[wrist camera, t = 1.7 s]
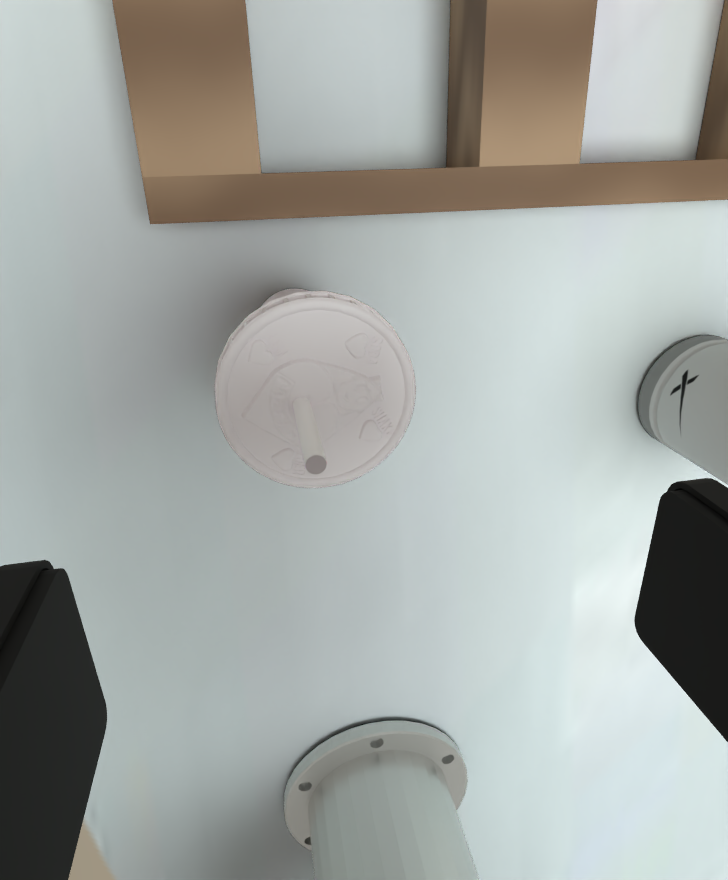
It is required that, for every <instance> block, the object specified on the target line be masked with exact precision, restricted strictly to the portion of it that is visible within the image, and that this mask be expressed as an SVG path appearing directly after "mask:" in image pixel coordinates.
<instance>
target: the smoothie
mask: <svg viewBox="0 0 728 880" xmlns="http://www.w3.org/2000/svg"><path fill="white" fill-rule="evenodd" d="M214 388H215V404H216V411H217V416H218V420H219V423H220V426H221V429H222V431H223V433H224V436H225V438H226V439H227V441H228V443H229V445H230V446H231V447H232V449H233V450H234V451H235V453H236V454H237V455H238V456H239V457H240V458H241V459H242V460H243V461H244V462H245V463H246V464H247V465H248V466H250V467H251V468H252V469H254V470H255V471H256V472H258V473H260V474H261V475H263V476H265V477H267V478H269V479H271V480H274V481H276V482H279V483H282V484H286V485H289V486H295V487H302V488H322V487H330V486H335V485H339V484H343V483H346V482H349V481H352V480H354V479H356V478H358V477H360V476H362V475H364V474H366V473H368V472H369V471H371V470H372V469H374V468H375V467H377V466H378V465H379V464H380V463H381V462H383V461H384V460H385V459H386V458H387V457H388V456H389V455H390V454H391V452H392V451H393V450H394V449H395V448H396V446H397V445H398V444H399V442H400V441H401V439H402V437H403V436H404V434H405V432H406V430H407V428H408V425H409V423H410V420H411V417H412V414H413V409H414V404H415V394H416V385H415V376H414V370H413V366H412V363H411V360H410V357H409V355H408V352H407V351H406V349H405V347H404V345H403V343H402V342H401V340H400V338H399V337H398V335H397V333H396V332H395V330H394V328H393V327H392V326H391V325H390V324H389V323H388V322H387V321H386V320H385V319H384V318H383V317H382V316H381V315H380V314H379V313H378V312H377V311H376V310H375V309H373V308H371V307H369V306H368V305H366V304H364V303H362V302H360V301H358V300H356V299H355V298H353V297H351V296H346V295H342V294H337V293H333V292H328V291H308V290H304V289H297V288H292V289H286V290H282V291H279V292H277V293H275V294H273V295H272V296H271V297H269V298H268V299H267V300H266V301H265V302H264V303H263V305H262V306H261V307H260V308H258V309H257V310H255V311H254V312H252V313H251V314H249V315H248V316H247V317H246V318H245V319H244V320H243V321H242V323H241V324H240V325H239V326H238V327H237V328H236V329H235V331H234V332H233V333H232V334H231V335H230V336H229V339H228V341H227V343H226V345H225V347H224V349H223V351H222V353H221V356H220V358H219V360H218V365H217V371H216V378H215V384H214Z"/></svg>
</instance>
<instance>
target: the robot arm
mask: <svg viewBox="0 0 728 880" xmlns="http://www.w3.org/2000/svg"><path fill="white" fill-rule="evenodd" d="M635 627H636V631H637V633H638V635H639V637H640V639H641V640H642V642H643V643H644V644H645V645H646V646H647V648H648V649H649V650H650V651H651V652H652V653H653V655H654V656H655V657H656V658H657V659H658V661H659V662H660V663H661V664H662V665H663V666H664V668H665V669H666V670H667V671H668V672H669V673H670V675H671V676H672V677H673V678H674V679H675V681H676V682H677V683H678V684H679V685H680V686H681V688H682V689H683V690H684V691H685V692H686V694H687V695H688V696H689V697H690V698H691V699H692V701H693V702H694V703H695V704H696V705H697V707H698V708H699V709H700V710H701V711H702V712H703V714H704V715H705V716H706V717H707V718H708V719H709V721H710V722H711V723H712V724H713V725H714V727H715V728H716V729H717V730H718V731H719V732H720V734H721V735H722V736H723V737H724V738H725V740H726V741H727V742H728V488H727V487H725V486H724V485H722V484H721V483H719V482H718V481H716V480H713V479H711V478H704V479H696V480H688V481H680V482H676V483H673V484H672V485H671V486H670V487H669V488H668V491H667V492H666V493H664V494H663V495H662V496H661V499H660V502H659V506H658V511H657V516H656V520H655V525H654V530H653V534H652V539H651V544H650V548H649V553H648V558H647V562H646V567H645V572H644V576H643V581H642V586H641V590H640V595H639V600H638V604H637V609H636V614H635ZM106 723H107V709H106V703H105V699H104V696H103V692H102V689H101V686H100V682H99V679H98V676H97V672H96V669H95V665H94V662H93V659H92V655H91V652H90V649H89V645H88V642H87V638H86V635H85V632H84V628H83V625H82V622H81V618H80V615H79V611H78V608H77V605H76V601H75V598H74V595H73V591H72V588H71V584H70V581H69V578H68V575H67V573H66V571H65V570H64V569H62V568H60V569H53V566H52V565H51V563H50V562H49V561H46V560H42V561H33V562H25V563H17V564H9V565H3V566H1V567H0V880H68V878H69V873H70V870H71V866H72V862H73V858H74V853H75V850H76V846H77V842H78V838H79V834H80V830H81V826H82V822H83V818H84V814H85V810H86V806H87V802H88V798H89V794H90V790H91V786H92V782H93V778H94V774H95V770H96V766H97V762H98V758H99V754H100V750H101V747H102V743H103V739H104V735H105V730H106ZM467 782H468V779H467V769H466V766H465V763H464V760H463V758H462V755H461V753H460V751H459V749H458V747H457V745H456V744H455V743H454V742H453V741H452V740H451V739H450V738H449V737H448V736H447V735H446V734H444V733H442V732H441V731H439V730H437V729H436V728H433V727H430V726H428V725H425V724H422V723H416V722H410V721H381V722H374V723H368V724H364V725H361V726H357V727H354V728H351V729H348V730H346V731H344V732H341V733H339V734H337V735H335V736H333V737H331V738H330V739H328V740H326V741H325V742H323V743H321V744H320V745H318V746H317V747H316V748H315V749H314V750H312V751H311V752H310V753H309V754H308V755H306V756H305V757H304V758H303V760H302V761H301V762H300V763H299V764H298V765H297V767H296V768H295V769H294V771H293V773H292V775H291V776H290V778H289V780H288V782H287V786H286V789H285V792H284V813H285V821H286V825H287V827H288V829H289V831H290V833H291V835H292V836H293V837H294V838H295V839H296V841H297V842H298V843H299V844H301V845H302V846H304V847H305V848H307V849H308V850H310V851H312V858H313V869H314V879H315V880H479V877H478V874H477V871H476V868H475V865H474V862H473V859H472V856H471V853H470V850H469V847H468V844H467V841H466V838H465V835H464V832H463V829H462V826H461V823H460V820H459V817H458V814H457V811H456V810H457V809H458V807H459V806H460V804H461V802H462V799H463V797H464V795H465V792H466V787H467Z"/></svg>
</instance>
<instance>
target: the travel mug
mask: <svg viewBox="0 0 728 880" xmlns="http://www.w3.org/2000/svg"><path fill="white" fill-rule="evenodd" d="M638 411H639V416H640V420H641V423H642V425H643V427H644V429H645V430H646V431H647V432H648V433H649V435H650V436H652V437H653V438H655V439H656V440H658V441H659V442H661V443H662V444H664V445H666V446H667V447H669V448H670V449H672V450H674V451H675V452H677V453H678V454H680V455H682V456H683V457H685V458H686V459H688V460H689V461H691V462H693V463H694V464H696V465H697V466H699V467H701V468H702V469H704V470H705V471H707V472H708V473H710V474H712V475H713V476H715V477H716V478H718V479H720V480H721V481H723V482H724V483H726V484H727V485H728V339H725V338H721V337H718V336H712V335H703V336H696V337H693V338H689V339H686V340H684V341H682V342H680V343H678V344H676V345H675V346H673V347H672V348H670V349H669V350H667V351H666V352H665V353H664V354H663V355H662V356H661V357H660V358H659V359H658V360H657V361H656V362H655V363H654V365H653V366H652V367H651V369H650V370H649V372H648V374H647V375H646V377H645V379H644V381H643V384H642V387H641V390H640V395H639V400H638Z"/></svg>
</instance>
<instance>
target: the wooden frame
mask: <svg viewBox="0 0 728 880" xmlns="http://www.w3.org/2000/svg"><path fill="white" fill-rule="evenodd" d="M112 1H113V7H114V13H115V19H116V25H117V31H118V37H119V43H120V49H121V55H122V61H123V66H124V72H125V78H126V84H127V90H128V96H129V102H130V108H131V114H132V120H133V126H134V132H135V137H136V143H137V149H138V155H139V161H140V167H141V173H142V179H143V185H144V191H145V197H146V202H147V208H148V214H149V220H150V224H166V223H190V222H213V221H236V220H260V219H283V218H307V217H330V216H353V215H377V214H400V213H424V212H447V211H470V210H494V209H517V208H541V207H564V206H588V205H611V204H634V203H658V202H681V201H705V200H728V0H725V2H724V7H723V13H722V18H721V24H720V29H719V35H718V40H717V45H716V51H715V56H714V62H713V67H712V73H711V78H710V84H709V89H708V95H707V100H706V106H705V111H704V117H703V122H702V127H701V133H700V138H699V144H698V149H697V155H696V160H683V161H650V162H618V163H585V164H579V163H580V154H581V145H582V136H583V127H584V118H585V108H586V99H587V90H588V81H589V72H590V63H591V54H592V45H593V35H594V26H595V17H596V8H597V0H451V1H450V41H449V80H448V120H447V159H446V168H424V169H391V170H359V171H326V172H294V173H262V174H261V165H260V154H259V143H258V133H257V122H256V111H255V100H254V89H253V79H252V68H251V57H250V46H249V36H248V25H247V14H246V3H245V0H112Z"/></svg>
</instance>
